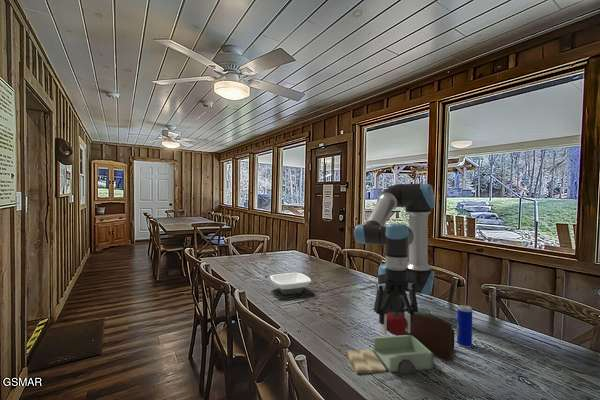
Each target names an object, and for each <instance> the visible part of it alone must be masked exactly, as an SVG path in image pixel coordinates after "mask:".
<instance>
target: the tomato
mask: <svg viewBox="0 0 600 400" xmlns="http://www.w3.org/2000/svg"><path fill="white" fill-rule="evenodd" d="M385 315H386V316H387V333H390V334H391V335H392V336H396V335H401V334H403V333H404V331H405V330H406V327H407V321H406V319H405V317H404V316H403V315H402V314H399V313H397V312H396V313H388V314H386V313H385Z"/></svg>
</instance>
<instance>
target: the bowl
mask: <svg viewBox="0 0 600 400" xmlns="http://www.w3.org/2000/svg"><path fill="white" fill-rule="evenodd" d="M269 279H270V280H271V281H272V282H273V284H274V285H275V286H276V287H277V289H278V290H279V292H280V293H281V294H282V293H283V294H282V295H284V294H285V295H284V296H288V295H287V294H293V295H297V294H296V293H299V294H301V293H302V292H303V290H304V289H305V288H306V287H308V285H309V284H310V283H311V282H312V280H311V278H310V277H309V276H308V275H306V274H303V273H301V272H287V273H286V272H285V273H276V274H271V275H269Z"/></svg>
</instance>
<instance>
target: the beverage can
mask: <svg viewBox="0 0 600 400" xmlns="http://www.w3.org/2000/svg"><path fill="white" fill-rule="evenodd" d="M456 314H457V316H456V325H457V326H456V342H457V344H458V345H459V346H460V347H463V348H470V347H472V345H473V309H472V306H469V305H465V304H458V305H457V312H456Z"/></svg>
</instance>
